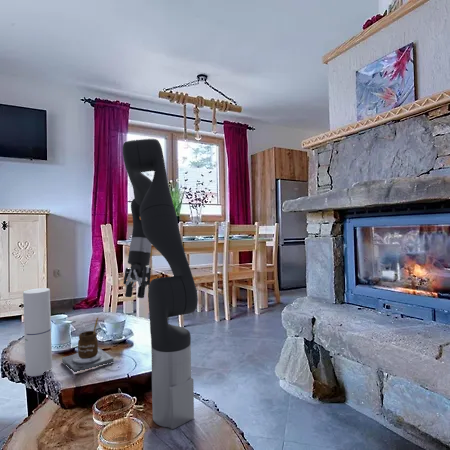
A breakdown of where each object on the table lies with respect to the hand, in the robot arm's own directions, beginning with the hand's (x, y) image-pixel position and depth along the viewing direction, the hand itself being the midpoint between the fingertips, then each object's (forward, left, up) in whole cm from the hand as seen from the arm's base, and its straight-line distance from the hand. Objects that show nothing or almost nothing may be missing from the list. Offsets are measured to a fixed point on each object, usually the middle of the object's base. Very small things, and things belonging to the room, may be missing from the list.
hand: (134, 297), depth 117 cm
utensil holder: (+2, +15, -17) cm, 23 cm away
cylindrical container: (+8, +28, -19) cm, 35 cm away
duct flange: (+3, +15, -19) cm, 25 cm away
